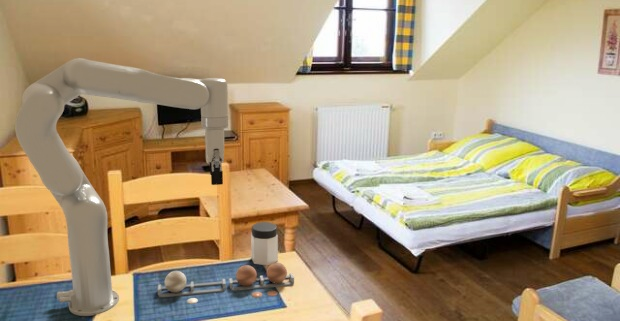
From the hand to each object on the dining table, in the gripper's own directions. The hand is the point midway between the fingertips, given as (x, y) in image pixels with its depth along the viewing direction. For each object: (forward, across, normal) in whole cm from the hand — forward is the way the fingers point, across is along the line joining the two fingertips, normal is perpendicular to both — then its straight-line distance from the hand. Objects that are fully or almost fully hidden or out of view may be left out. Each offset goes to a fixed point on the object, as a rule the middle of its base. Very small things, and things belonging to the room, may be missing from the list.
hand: (216, 179), depth 150 cm
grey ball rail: (+30, +10, +2) cm, 32 cm away
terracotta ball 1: (+30, +10, +8) cm, 32 cm away
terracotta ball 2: (+30, +10, +16) cm, 35 cm away
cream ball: (+30, +10, -12) cm, 34 cm away
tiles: (+30, +16, +2) cm, 34 cm away
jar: (+30, -6, +15) cm, 34 cm away
